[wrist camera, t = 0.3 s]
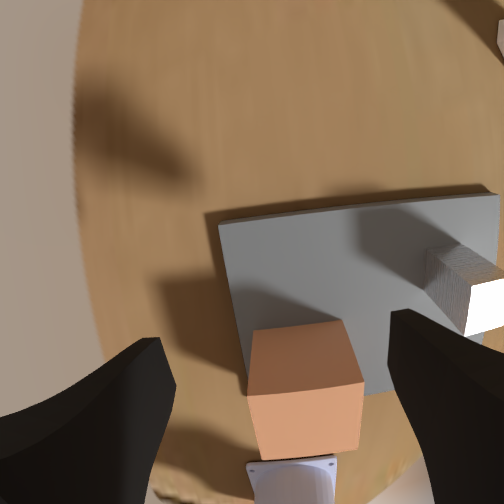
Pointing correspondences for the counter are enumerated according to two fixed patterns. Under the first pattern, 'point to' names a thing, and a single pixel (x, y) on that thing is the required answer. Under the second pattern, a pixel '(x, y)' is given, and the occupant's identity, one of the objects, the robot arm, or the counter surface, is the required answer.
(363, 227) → the board
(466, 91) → the counter surface
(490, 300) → the post
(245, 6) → the counter surface
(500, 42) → the white bottle
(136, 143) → the counter surface
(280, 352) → the salmon pink block
